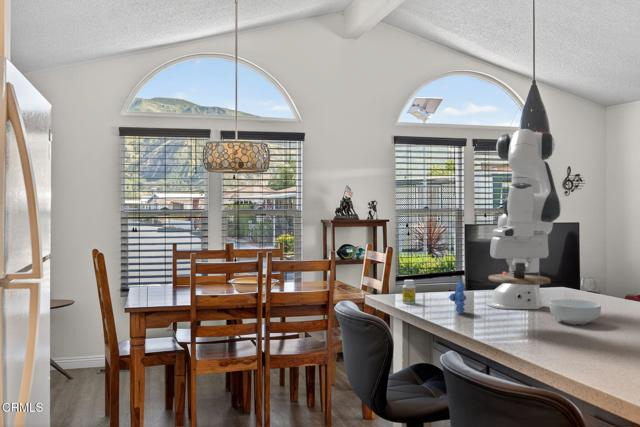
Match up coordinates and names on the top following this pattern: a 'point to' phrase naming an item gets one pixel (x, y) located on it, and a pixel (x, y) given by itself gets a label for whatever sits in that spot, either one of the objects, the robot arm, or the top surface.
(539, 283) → the lid
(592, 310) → the cereal bowl
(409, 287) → the supplement bottle
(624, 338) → the top surface
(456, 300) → the grapes
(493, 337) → the top surface
